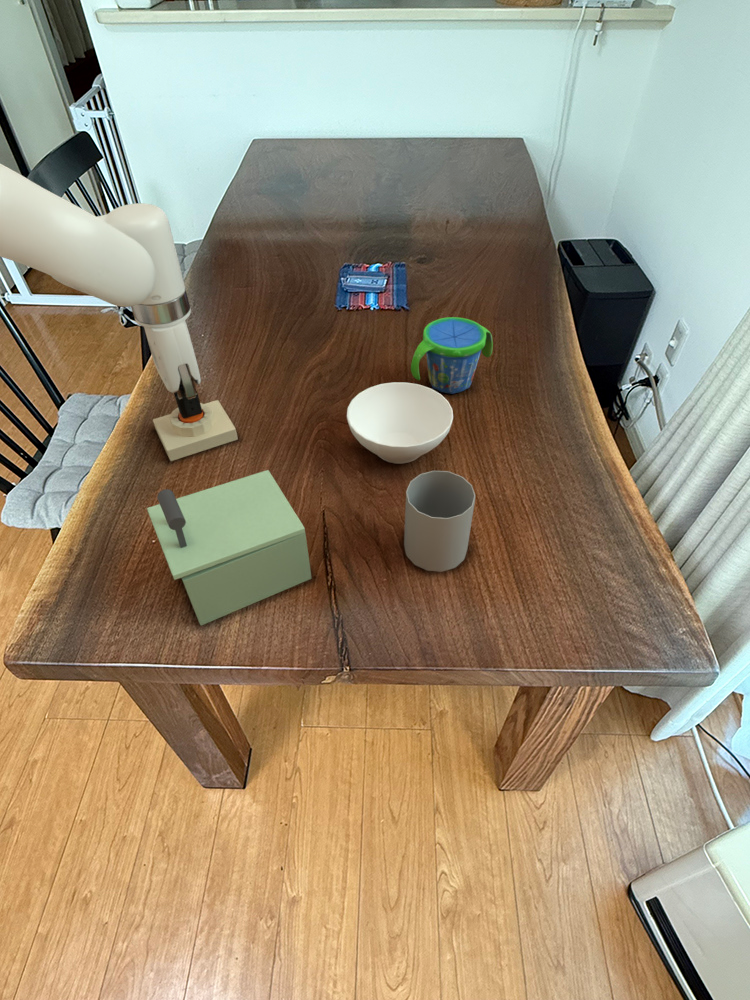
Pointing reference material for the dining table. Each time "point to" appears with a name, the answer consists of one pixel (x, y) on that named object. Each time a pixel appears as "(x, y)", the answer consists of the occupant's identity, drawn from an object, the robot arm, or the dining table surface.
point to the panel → (195, 431)
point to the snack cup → (452, 352)
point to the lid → (222, 522)
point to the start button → (191, 418)
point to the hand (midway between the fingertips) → (191, 413)
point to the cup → (438, 520)
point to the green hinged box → (248, 578)
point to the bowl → (399, 420)
